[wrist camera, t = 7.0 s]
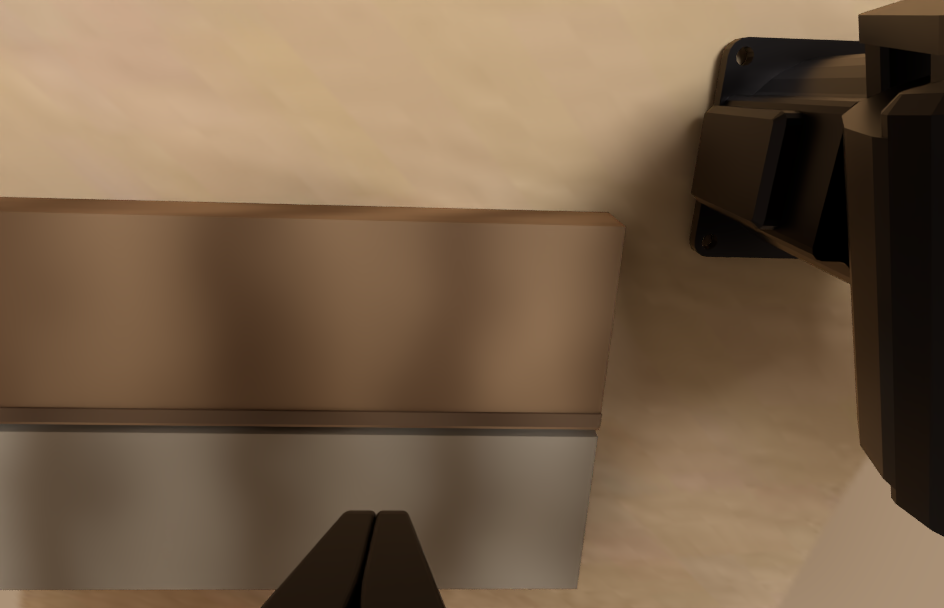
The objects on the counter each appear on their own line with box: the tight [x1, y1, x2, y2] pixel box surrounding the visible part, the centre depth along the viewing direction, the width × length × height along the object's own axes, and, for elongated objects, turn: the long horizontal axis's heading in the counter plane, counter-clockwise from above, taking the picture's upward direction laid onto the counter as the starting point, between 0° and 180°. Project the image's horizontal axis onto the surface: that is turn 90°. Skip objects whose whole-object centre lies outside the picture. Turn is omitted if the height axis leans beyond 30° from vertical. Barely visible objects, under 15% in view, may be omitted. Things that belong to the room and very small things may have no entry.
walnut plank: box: [0, 197, 626, 430], centre depth 18 cm, size 22×7×2 cm, turn 88°
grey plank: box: [0, 424, 598, 590], centre depth 21 cm, size 22×7×2 cm, turn 88°
